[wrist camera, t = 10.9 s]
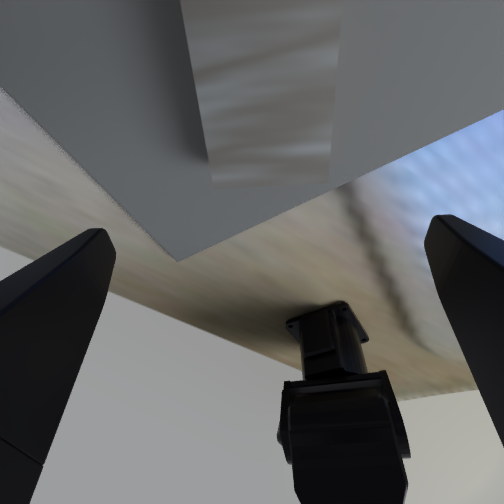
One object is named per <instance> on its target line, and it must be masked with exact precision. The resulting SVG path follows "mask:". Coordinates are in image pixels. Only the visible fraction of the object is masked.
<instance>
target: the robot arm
mask: <svg viewBox="0 0 504 504" xmlns="http://www.w3.org/2000/svg"><path fill="white" fill-rule="evenodd" d="M424 248H425V252H426V255H427V259H428V262H429V265H430V269H431V272H432V276H433V279H434V283H435V286H436V290H437V293H438V296H439V298H440V301H441V303H442V306H443V308H444V310H445V312H446V315H447V317H448V319H449V322H450V324H451V326H452V329H453V331H454V333H455V336H456V338H457V340H458V343H459V345H460V347H461V349H462V352H463V354H464V356H465V359H466V361H467V363H468V366H469V368H470V370H471V373H472V375H473V377H474V380H475V382H476V384H477V387H478V389H479V391H480V393H481V396H482V398H483V400H484V403H485V405H486V407H487V410H488V412H489V414H490V417H491V419H492V421H493V423H494V426H495V428H496V430H497V433H498V435H499V437H500V439H501V442H502V444H503V446H504V240H502V239H500V238H498V237H496V236H494V235H492V234H490V233H488V232H486V231H484V230H482V229H480V228H478V227H476V226H474V225H472V224H470V223H468V222H466V221H464V220H462V219H460V218H458V217H456V216H454V215H450V214H448V215H436V216H434V217H433V218H432V220H431V223H430V226H429V229H428V231H427V234H426V237H425V241H424ZM115 260H116V251H115V248H114V246H113V244H112V242H111V239H110V237H109V235H108V233H107V231H106V230H105V229H103V228H92V229H88V230H86V231H84V232H83V233H81V234H79V235H77V236H76V237H74V238H72V239H71V240H69V241H67V242H66V243H64V244H62V245H61V246H59V247H57V248H55V249H54V250H52V251H50V252H49V253H47V254H45V255H44V256H42V257H40V258H39V259H37V260H35V261H33V262H32V263H30V264H28V265H27V266H25V267H23V268H22V269H20V270H18V271H17V272H15V273H13V274H12V275H10V276H8V277H6V278H5V279H3V280H1V281H0V504H30V501H31V498H32V495H33V493H34V490H35V488H36V485H37V482H38V480H39V477H40V474H41V472H42V469H43V464H44V463H45V460H46V458H47V455H48V452H49V450H50V447H51V444H52V442H53V439H54V437H55V434H56V431H57V429H58V426H59V423H60V420H61V418H62V415H63V413H64V409H65V407H66V405H67V402H68V399H69V396H70V394H71V391H72V389H73V386H74V383H75V381H76V378H77V375H78V373H79V370H80V367H81V364H82V362H83V359H84V356H85V354H86V351H87V349H88V346H89V343H90V341H91V338H92V335H93V333H94V330H95V327H96V325H97V322H98V319H99V317H100V314H101V312H102V309H103V306H104V303H105V299H106V296H107V292H108V288H109V284H110V280H111V276H112V272H113V268H114V264H115ZM285 324H286V328H287V329H288V331H289V332H290V333H291V334H292V335H293V336H294V338H295V339H296V340H297V341H298V342H299V343H300V350H301V362H302V375H303V380H302V381H292V382H291V381H284V390H282V401H281V414H280V422H279V428H278V432H277V440H278V442H279V443H280V444H281V445H282V446H283V450H284V454H285V457H286V461H287V463H288V464H292V469H293V480H294V490H295V493H296V494H297V497H298V499H299V501H300V503H301V504H404V502H405V498H406V493H407V490H408V480H407V476H406V472H405V468H404V464H403V460H402V459H403V458H411V456H410V455H411V454H410V449H409V443H408V439H407V434H406V430H405V426H404V423H403V419H402V416H401V413H400V410H399V407H398V404H397V401H396V398H395V395H394V392H393V390H392V387H391V384H390V381H389V378H388V375H387V372H386V370H381V371H379V372H373V373H368V371H367V367H366V363H365V359H364V355H363V351H362V347H361V344H362V343H366V342H368V341H369V337H368V335H367V333H366V331H365V330H364V328H363V327H362V325H361V323H360V322H359V320H358V319H357V317H356V315H355V314H354V312H353V311H352V309H351V307H350V306H349V304H348V303H340V304H337V305H334V306H331V307H328V308H325V309H322V310H319V311H315V312H312V313H309V314H306V315H303V316H300V317H297V318H294V319H291V320H288V321H286V323H285Z"/></svg>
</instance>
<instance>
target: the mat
mask: <svg viewBox="0 0 504 504" xmlns="http://www.w3.org/2000/svg"><path fill="white" fill-rule="evenodd" d="M0 86H1V87H2V88H3V89H4V90H5V91H6V92H7V93H8V94H9V95H10V96H11V97H12V98H13V99H14V100H15V101H16V102H17V103H18V104H19V105H20V106H21V107H22V108H23V109H24V110H25V111H26V112H27V113H28V114H29V115H30V116H31V117H32V118H33V119H34V120H35V121H36V122H37V123H38V124H39V125H40V126H41V127H42V128H43V129H44V130H45V131H46V132H47V133H48V134H49V135H50V136H51V137H52V138H53V139H54V140H55V141H56V142H57V143H58V144H59V145H60V146H61V147H62V148H63V149H64V150H65V151H66V152H67V153H68V154H69V155H70V156H71V157H72V158H73V159H74V160H75V161H76V162H77V163H78V164H79V165H80V166H81V167H82V168H83V169H84V170H85V171H86V172H87V173H88V174H89V175H90V176H91V177H92V178H93V179H94V180H95V181H96V182H97V183H98V184H99V185H100V186H101V187H102V188H103V189H104V190H105V191H106V192H107V193H108V194H109V195H110V196H111V197H112V198H113V199H114V200H115V201H116V202H117V203H119V204H120V205H121V206H122V207H123V208H124V209H125V210H126V211H127V212H128V213H129V214H130V215H131V216H132V217H133V218H134V219H135V220H136V221H137V222H138V223H139V224H140V225H141V226H142V227H143V228H144V229H145V230H146V231H147V232H148V233H149V234H150V235H151V236H152V237H153V238H154V239H155V240H156V241H157V242H158V243H159V244H160V245H161V246H162V247H163V248H164V249H165V250H166V251H167V252H168V253H169V254H170V255H171V256H172V257H173V258H174V259H175V260H176V261H177V262H178V261H181V260H183V259H185V258H187V257H189V256H191V255H193V254H195V253H198V252H200V251H202V250H204V249H206V248H208V247H210V246H213V245H215V244H217V243H219V242H221V241H223V240H225V239H228V238H230V237H232V236H234V235H236V234H238V233H240V232H243V231H245V230H247V229H249V228H251V227H253V226H255V225H257V224H260V223H262V222H264V221H266V220H268V219H270V218H272V217H275V216H277V215H279V214H281V213H283V212H285V211H287V210H290V209H292V208H294V207H296V206H298V205H300V204H302V203H304V202H307V201H309V200H311V199H313V198H315V197H317V196H319V195H322V194H324V193H326V192H328V191H330V190H332V189H334V188H337V187H339V186H341V185H343V184H345V183H347V182H349V181H351V180H354V179H356V178H358V177H360V176H362V175H364V174H366V173H369V172H371V171H373V170H375V169H377V168H379V167H381V166H384V165H386V164H388V163H390V162H392V161H394V160H396V159H399V158H401V157H403V156H405V155H407V154H409V153H411V152H413V151H416V150H418V149H420V148H422V147H424V146H426V145H428V144H431V143H433V142H435V141H437V140H439V139H441V138H443V137H446V136H448V135H450V134H452V133H454V132H456V131H458V130H460V129H463V128H465V127H467V126H469V125H471V124H473V123H475V122H478V121H480V120H482V119H484V118H486V117H488V116H490V115H493V114H495V113H497V112H499V111H501V110H503V109H504V0H343V2H342V15H341V27H340V40H339V52H338V65H337V77H336V90H335V102H334V115H333V128H332V140H331V153H330V165H329V178H328V183H320V184H301V185H281V186H262V187H243V188H224V189H214V187H213V182H212V176H211V171H210V165H209V159H208V154H207V148H206V143H205V137H204V132H203V126H202V120H201V115H200V109H199V104H198V98H197V93H196V87H195V81H194V76H193V70H192V65H191V59H190V54H189V48H188V43H187V37H186V31H185V26H184V20H183V15H182V9H181V4H180V0H0Z"/></svg>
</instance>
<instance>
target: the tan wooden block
mask: <svg viewBox="0 0 504 504" xmlns="http://www.w3.org/2000/svg"><path fill="white" fill-rule="evenodd" d="M342 2H343V0H180V4H181V9H182V15H183V20H184V26H185V31H186V37H187V43H188V48H189V54H190V59H191V65H192V70H193V76H194V81H195V87H196V93H197V98H198V104H199V109H200V115H201V120H202V126H203V132H204V137H205V143H206V148H207V154H208V159H209V165H210V171H211V176H212V182H213V187H214V189H224V188H243V187H262V186H281V185H301V184H320V183H328V178H329V165H330V153H331V140H332V128H333V115H334V102H335V90H336V77H337V65H338V52H339V40H340V27H341V15H342Z"/></svg>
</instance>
